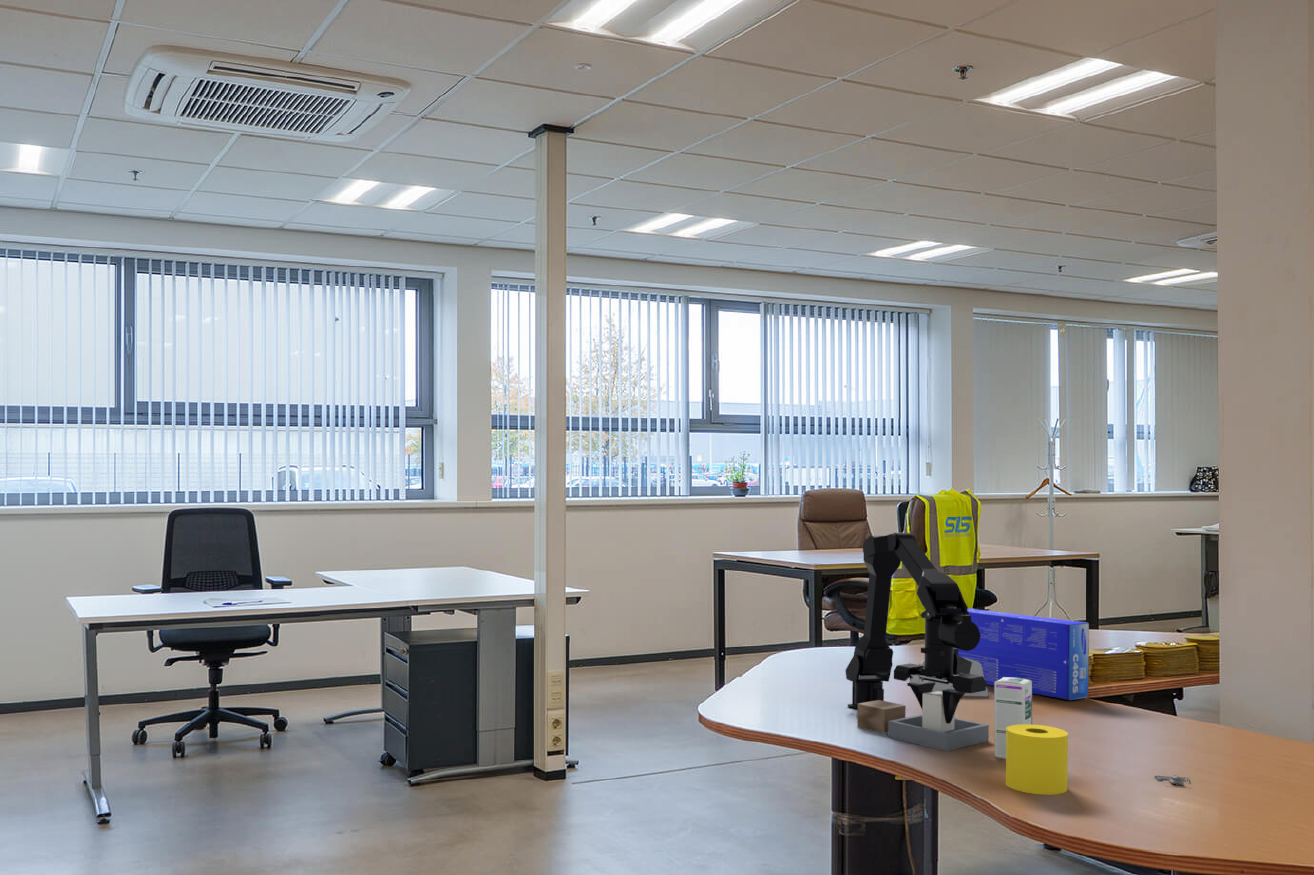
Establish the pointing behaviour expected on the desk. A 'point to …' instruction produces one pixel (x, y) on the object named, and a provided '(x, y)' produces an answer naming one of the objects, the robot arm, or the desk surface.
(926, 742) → the sorting tray
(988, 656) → the toner cartridge box
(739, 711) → the desk surface
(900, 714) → the oversize block
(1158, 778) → the grey flat piece
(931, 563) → the robot arm
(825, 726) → the desk surface
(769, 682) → the desk surface
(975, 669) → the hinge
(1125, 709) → the desk surface
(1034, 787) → the yellow paper roll
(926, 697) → the small block
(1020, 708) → the syrup box
